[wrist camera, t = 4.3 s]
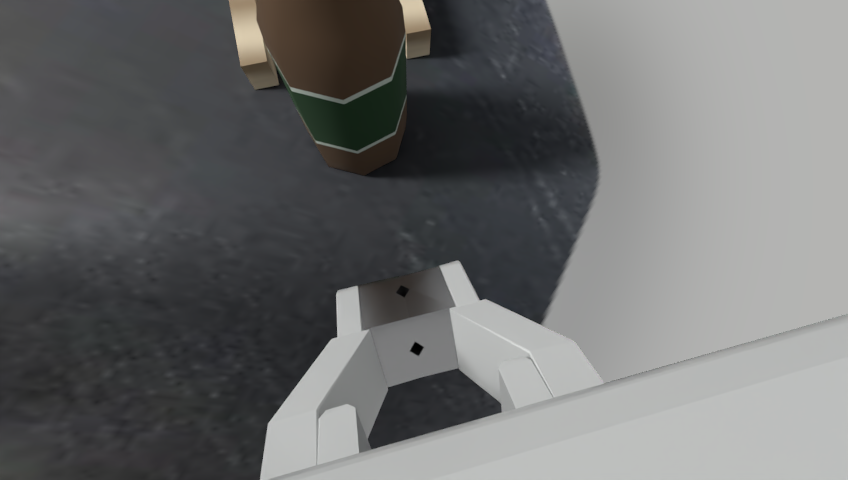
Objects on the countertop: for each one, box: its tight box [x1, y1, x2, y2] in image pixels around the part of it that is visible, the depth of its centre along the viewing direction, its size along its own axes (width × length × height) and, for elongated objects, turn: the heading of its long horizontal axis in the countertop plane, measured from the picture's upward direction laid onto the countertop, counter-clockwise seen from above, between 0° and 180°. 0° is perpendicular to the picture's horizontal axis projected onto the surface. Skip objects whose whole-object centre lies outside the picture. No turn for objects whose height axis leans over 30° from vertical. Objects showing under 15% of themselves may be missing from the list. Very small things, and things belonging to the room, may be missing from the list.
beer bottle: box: [256, 0, 407, 175], centre depth 22 cm, size 8×8×24 cm
